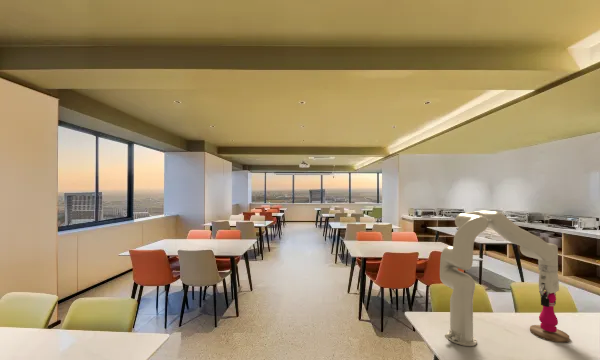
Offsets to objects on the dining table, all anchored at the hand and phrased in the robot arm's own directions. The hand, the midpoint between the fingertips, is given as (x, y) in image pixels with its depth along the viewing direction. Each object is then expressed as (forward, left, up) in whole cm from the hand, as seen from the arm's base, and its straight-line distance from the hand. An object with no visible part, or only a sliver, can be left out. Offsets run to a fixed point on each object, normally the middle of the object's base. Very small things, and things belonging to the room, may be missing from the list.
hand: (548, 304), depth 148 cm
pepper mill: (0, 0, -12) cm, 12 cm away
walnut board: (0, 0, -15) cm, 15 cm away
